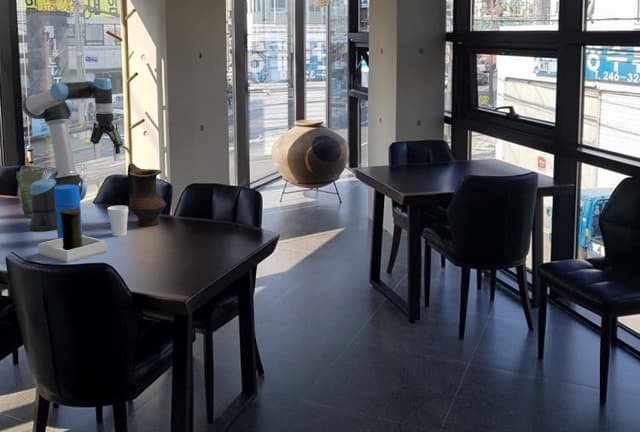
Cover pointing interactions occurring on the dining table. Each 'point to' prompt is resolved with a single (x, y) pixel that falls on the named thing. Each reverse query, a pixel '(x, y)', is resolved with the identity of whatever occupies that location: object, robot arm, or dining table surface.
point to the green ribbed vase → (27, 187)
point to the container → (71, 229)
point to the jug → (144, 195)
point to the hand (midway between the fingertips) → (107, 159)
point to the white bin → (58, 253)
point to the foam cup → (118, 219)
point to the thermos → (66, 203)
